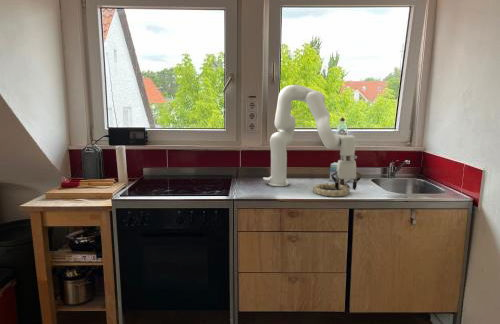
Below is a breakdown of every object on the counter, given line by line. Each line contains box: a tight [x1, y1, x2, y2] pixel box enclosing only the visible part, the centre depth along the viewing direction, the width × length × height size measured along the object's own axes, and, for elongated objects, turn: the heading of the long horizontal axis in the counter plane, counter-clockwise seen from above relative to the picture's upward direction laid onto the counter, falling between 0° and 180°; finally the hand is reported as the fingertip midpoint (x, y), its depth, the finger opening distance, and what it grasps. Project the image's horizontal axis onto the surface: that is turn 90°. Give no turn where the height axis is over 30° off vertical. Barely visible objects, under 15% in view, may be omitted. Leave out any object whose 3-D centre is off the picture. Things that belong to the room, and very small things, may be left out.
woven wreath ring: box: [312, 182, 351, 198], centre depth 190 cm, size 19×20×3 cm
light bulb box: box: [329, 162, 350, 183], centre depth 218 cm, size 11×7×11 cm, turn 55°
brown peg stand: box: [338, 179, 350, 189], centre depth 203 cm, size 7×7×11 cm
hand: (345, 189), depth 189 cm, fingers open, 8 cm apart
